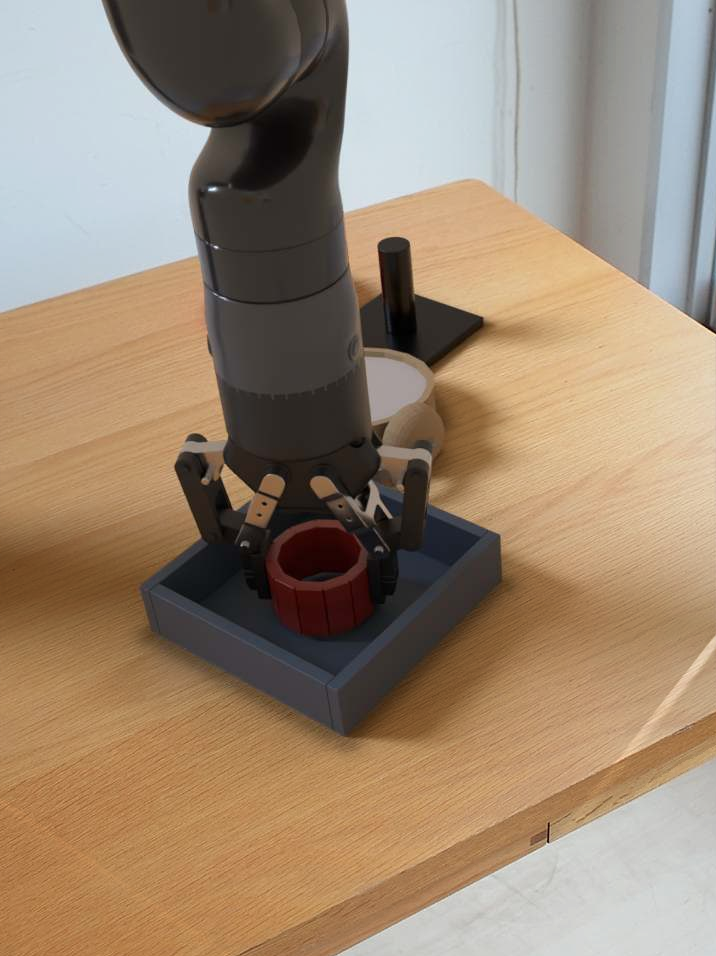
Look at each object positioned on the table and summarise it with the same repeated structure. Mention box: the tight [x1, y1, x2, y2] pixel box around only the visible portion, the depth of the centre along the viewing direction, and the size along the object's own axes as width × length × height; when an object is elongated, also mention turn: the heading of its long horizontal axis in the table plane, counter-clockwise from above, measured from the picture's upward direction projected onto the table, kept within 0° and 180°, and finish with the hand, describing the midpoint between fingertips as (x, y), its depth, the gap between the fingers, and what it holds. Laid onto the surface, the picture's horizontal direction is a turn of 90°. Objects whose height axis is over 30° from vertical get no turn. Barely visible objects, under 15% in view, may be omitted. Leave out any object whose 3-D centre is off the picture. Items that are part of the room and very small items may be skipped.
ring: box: [265, 520, 376, 636], centre depth 76 cm, size 6×6×4 cm
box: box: [139, 479, 503, 738], centre depth 77 cm, size 15×15×4 cm
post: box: [359, 236, 485, 369], centre depth 98 cm, size 9×9×8 cm
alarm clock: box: [364, 348, 445, 484], centre depth 89 cm, size 11×5×15 cm
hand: (324, 591), depth 77 cm, fingers closed on ring, 6 cm apart
